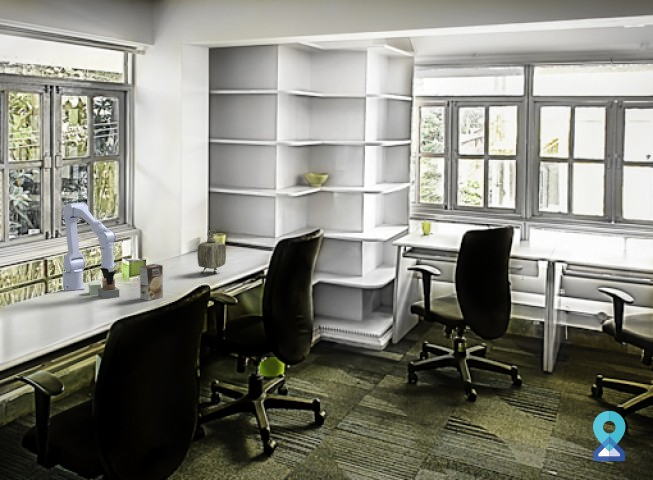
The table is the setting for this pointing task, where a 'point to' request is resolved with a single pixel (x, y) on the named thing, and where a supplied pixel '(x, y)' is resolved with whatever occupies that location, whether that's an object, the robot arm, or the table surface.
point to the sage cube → (94, 288)
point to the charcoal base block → (108, 293)
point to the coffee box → (151, 282)
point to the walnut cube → (108, 287)
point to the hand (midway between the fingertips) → (108, 283)
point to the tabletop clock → (211, 253)
